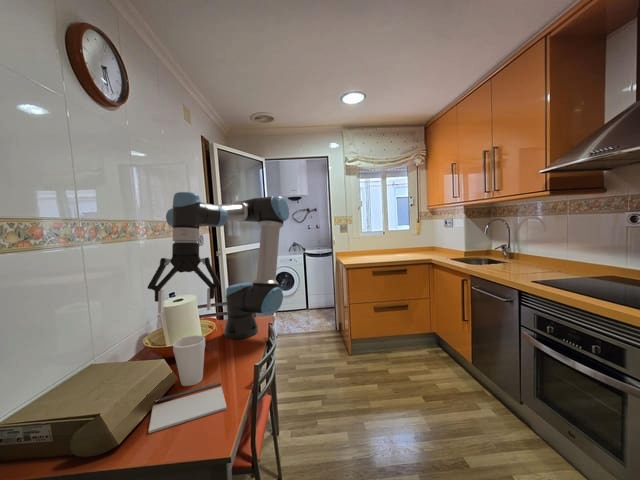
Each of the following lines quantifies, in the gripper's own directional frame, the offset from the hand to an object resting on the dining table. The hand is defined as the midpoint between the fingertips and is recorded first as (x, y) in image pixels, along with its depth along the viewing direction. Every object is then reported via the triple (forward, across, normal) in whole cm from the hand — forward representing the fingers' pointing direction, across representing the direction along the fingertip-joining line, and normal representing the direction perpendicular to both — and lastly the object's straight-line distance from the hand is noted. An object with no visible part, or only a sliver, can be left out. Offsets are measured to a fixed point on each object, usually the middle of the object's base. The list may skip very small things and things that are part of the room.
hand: (185, 310), depth 86 cm
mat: (+24, +3, -10) cm, 27 cm away
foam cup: (+24, +1, +5) cm, 24 cm away
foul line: (+24, +2, -2) cm, 24 cm away
